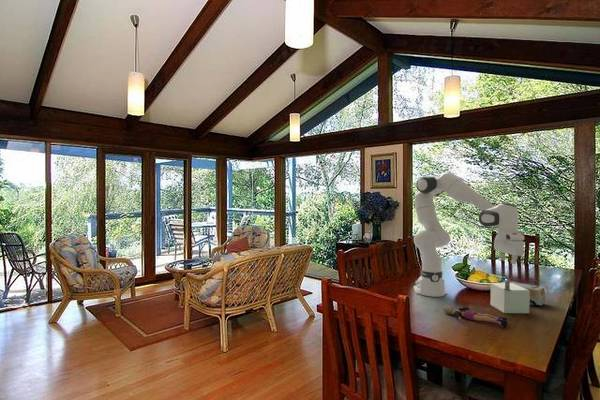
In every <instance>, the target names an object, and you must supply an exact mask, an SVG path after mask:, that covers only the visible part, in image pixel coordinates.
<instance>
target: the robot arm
mask: <svg viewBox="0 0 600 400" xmlns="http://www.w3.org/2000/svg"><path fill="white" fill-rule="evenodd" d="M415 185H416V189H417V191H418V192H415V194H414V206H415V207H414V208H415V211H416V216H417V221H418V223H419V224H420V225H422V226H423V228H424V229H425V230H421V231H417V233H415V234H414V236H413V243H414V245H415V246H416V247H417V248H418V250H419V252H420V257H421V271H420V276H419V277H418V279H416V280H415V285H413V289H414V293H415V294H417V295H422V296H426V297H433V298H434V297H435V298H438V297H439V298H440V297H443V296H445V295H448V292H447V291H446V286H445V285H446V284H445V280H444V279H443V271H442V263H443V261H442V257H441V256H440V255H439V254H438V253H437V248H442V247H446V246H447V245H449V243H450V241H451V236H450V234H449V232H448V231H447V230H446V229H444V228H443V226H442V225H441V222H440V221H439V219H438V216H437V212H436V207H435V203H434V197H435V198H438V197H439V196H440V195H442V194H443V193H446V194H447V195H448V196H449V197H450V198H451V199H453V200H455V201H456V202H460V203H466V204H470V205H473V206H475V207H477V208H478V209H479V210H480V212H479V214H478V222H479V223H480V225H481V226H483V227H486V228H495V227H496V228H497V229H498V230H497V234H496V235H495V237H494V241H493V242H494V243H493V249H494V250H495V251H497V252H498V255H499V260H500V261H505V260H506V257H505V254H508V255H511V260H510V264H512V265H516V264H517V260H518V258H519V257H522V256H524V254H525V253H524V252H525V243H524V241H525V235H523V234H522V233H520V232H519V226H518V223H519V211H518V207H517V206H516V205H515V204H513V203H509V202H500V203H499V204H497V205H495V204H493V202H491V201H489V200H488V199H487V198H486V197H484V196H482V195H481V194H480V193H478V192H477V191H476V190H475V189H473V188H472V187H470V186H469V185H468V184H467V183H466V182H465V181H464V180H462V179H461V178H460V177H459V176H457V175H456V174H454V173H451V172H449V171H446V172H443V173H441V174H440V175H439V176H436V175H435V176H434V175H432V176H429V175H426V176H421V177H419V178H418V179H417V181H416V183H415Z"/></svg>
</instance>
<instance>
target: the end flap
mask: <svg viewBox="0 0 600 400" xmlns="http://www.w3.org/2000/svg"><path fill="white" fill-rule="evenodd" d="M510 282H511V281H510V280H509V279H505V280H504V283H505V289H504V290H505V313H504V314H530V307H531V306H530V290H510Z"/></svg>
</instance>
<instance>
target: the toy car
mask: <svg viewBox="0 0 600 400" xmlns="http://www.w3.org/2000/svg"><path fill="white" fill-rule="evenodd" d="M510 283H513V284H516V285H518V286H520V287H523V288H525V289H527V290H530V306H529V307H535V306H537V305H538V306H542V305H544V304H545V303H546V302H547V300H546V299H547V298H546V295H547V294H546V290H545V288H544V287H543V286H538V285H533V284H527V283H521V282H515V281H510Z"/></svg>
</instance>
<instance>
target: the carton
mask: <svg viewBox="0 0 600 400" xmlns="http://www.w3.org/2000/svg"><path fill="white" fill-rule="evenodd" d="M504 289H505V282H491V283H490V303H489V304H490V306H492V307H493V308H495V309H497V310H498V311H500V312H502V313H503V314H506V313H505V290H504ZM510 290H527V289H525V288H523V287H520V286H518V285H516V284H513V283H510Z"/></svg>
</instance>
